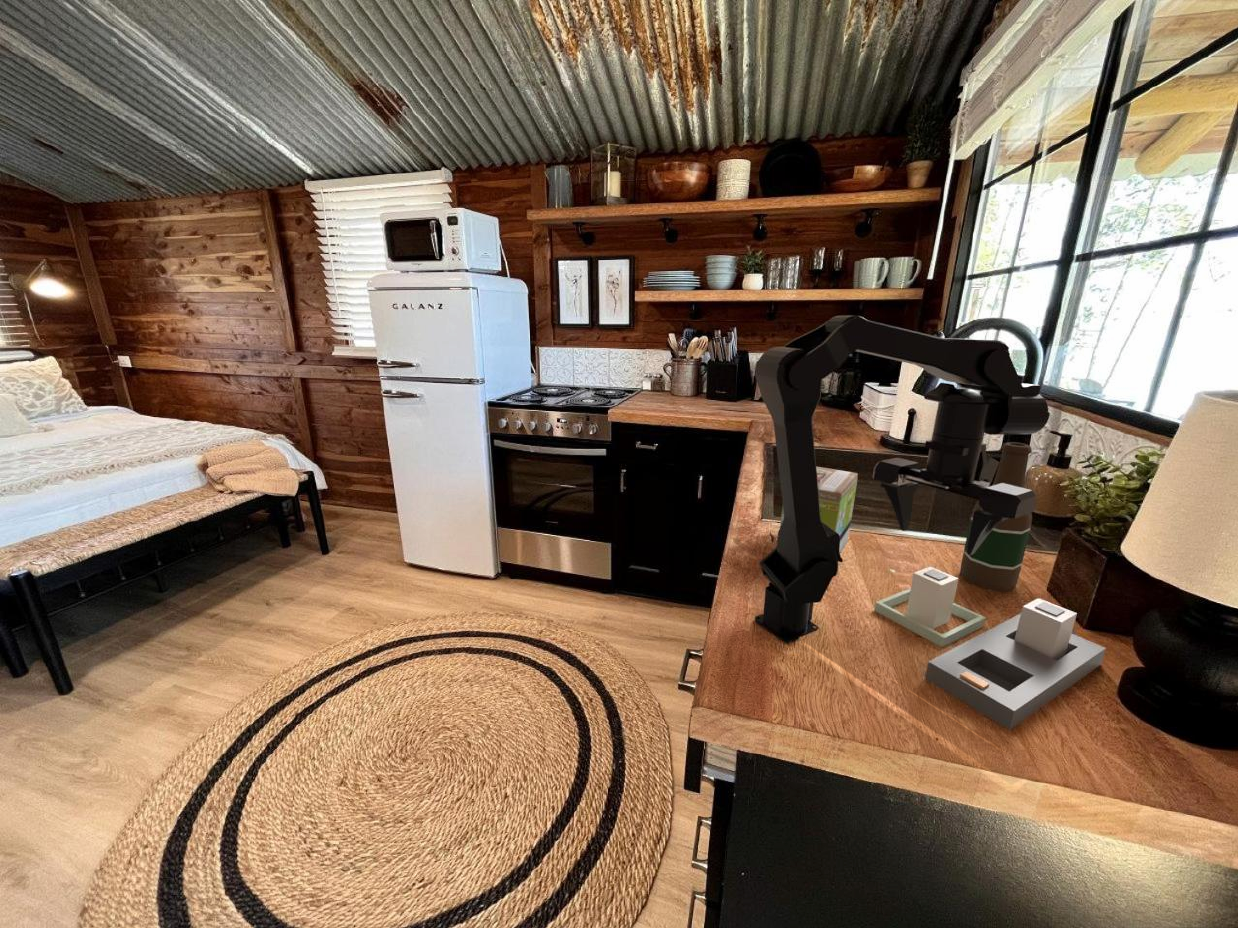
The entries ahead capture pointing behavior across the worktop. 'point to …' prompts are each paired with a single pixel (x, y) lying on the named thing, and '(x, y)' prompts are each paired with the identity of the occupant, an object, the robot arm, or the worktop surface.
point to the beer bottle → (1001, 532)
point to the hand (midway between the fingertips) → (935, 541)
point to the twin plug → (1045, 628)
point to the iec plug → (931, 597)
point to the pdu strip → (1010, 673)
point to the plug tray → (924, 631)
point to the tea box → (836, 500)
